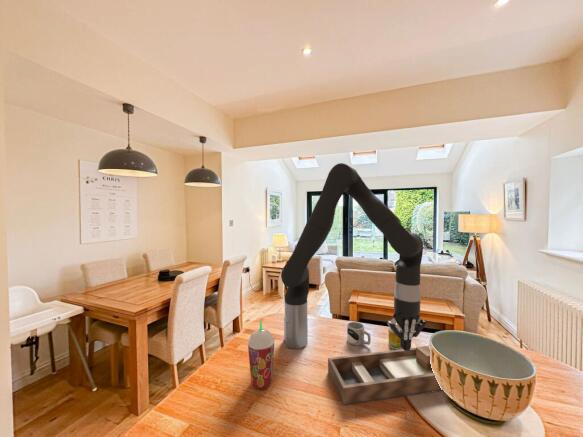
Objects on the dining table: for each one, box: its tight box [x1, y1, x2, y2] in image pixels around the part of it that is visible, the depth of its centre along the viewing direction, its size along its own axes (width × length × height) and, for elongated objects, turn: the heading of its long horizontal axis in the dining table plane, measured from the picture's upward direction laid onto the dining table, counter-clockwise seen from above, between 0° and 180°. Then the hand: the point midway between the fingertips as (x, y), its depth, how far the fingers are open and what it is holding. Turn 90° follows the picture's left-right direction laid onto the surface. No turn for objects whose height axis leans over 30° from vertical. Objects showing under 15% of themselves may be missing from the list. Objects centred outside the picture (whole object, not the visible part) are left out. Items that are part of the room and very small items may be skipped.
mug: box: [346, 321, 372, 347], centre depth 100 cm, size 10×7×7 cm, turn 42°
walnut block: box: [415, 345, 432, 371], centre depth 81 cm, size 5×5×5 cm
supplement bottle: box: [388, 323, 402, 350], centre depth 97 cm, size 5×5×10 cm
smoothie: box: [247, 320, 276, 390], centre depth 78 cm, size 8×8×20 cm
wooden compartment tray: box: [327, 347, 442, 406], centre depth 78 cm, size 36×14×5 cm, turn 99°
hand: (405, 349), depth 79 cm, fingers closed
